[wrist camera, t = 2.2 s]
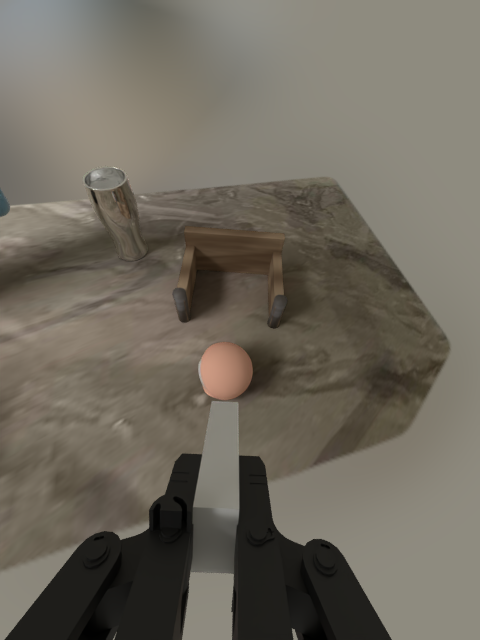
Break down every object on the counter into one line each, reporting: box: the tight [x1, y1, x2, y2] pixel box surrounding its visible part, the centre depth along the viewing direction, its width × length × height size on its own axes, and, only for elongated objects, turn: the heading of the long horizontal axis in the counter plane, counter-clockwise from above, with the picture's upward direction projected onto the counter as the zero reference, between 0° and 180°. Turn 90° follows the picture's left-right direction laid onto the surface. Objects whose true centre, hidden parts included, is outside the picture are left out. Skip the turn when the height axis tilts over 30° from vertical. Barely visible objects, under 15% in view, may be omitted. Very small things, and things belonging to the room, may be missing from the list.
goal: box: [173, 226, 287, 328], centre depth 45 cm, size 14×18×9 cm
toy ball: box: [198, 342, 253, 400], centre depth 37 cm, size 8×8×8 cm
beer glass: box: [82, 166, 148, 261], centre depth 47 cm, size 7×7×15 cm
